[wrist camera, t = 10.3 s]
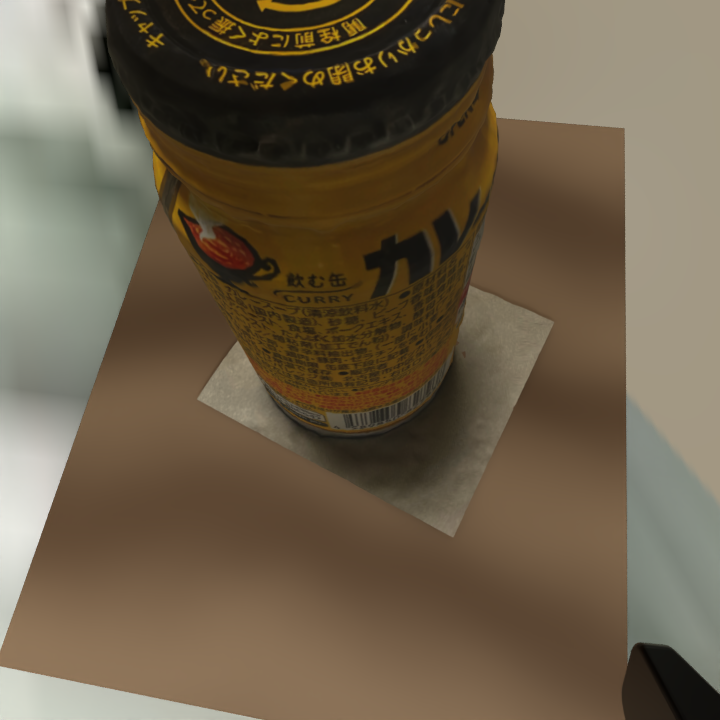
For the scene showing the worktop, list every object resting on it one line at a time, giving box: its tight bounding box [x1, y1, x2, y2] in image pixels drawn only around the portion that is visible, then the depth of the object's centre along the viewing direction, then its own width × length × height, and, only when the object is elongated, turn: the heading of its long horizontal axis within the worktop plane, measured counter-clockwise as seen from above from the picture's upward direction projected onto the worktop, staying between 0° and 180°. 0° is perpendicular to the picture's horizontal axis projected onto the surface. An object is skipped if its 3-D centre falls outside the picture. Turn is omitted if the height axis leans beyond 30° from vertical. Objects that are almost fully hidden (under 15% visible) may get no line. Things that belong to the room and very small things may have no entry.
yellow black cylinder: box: [105, 0, 554, 537], centre depth 13 cm, size 7×8×12 cm
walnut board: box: [0, 118, 627, 720], centre depth 19 cm, size 20×16×2 cm
